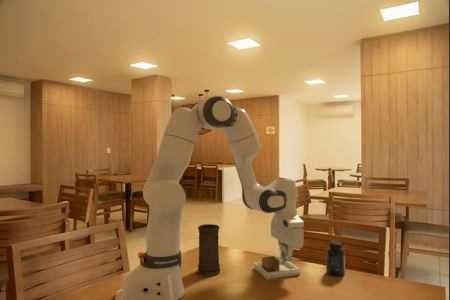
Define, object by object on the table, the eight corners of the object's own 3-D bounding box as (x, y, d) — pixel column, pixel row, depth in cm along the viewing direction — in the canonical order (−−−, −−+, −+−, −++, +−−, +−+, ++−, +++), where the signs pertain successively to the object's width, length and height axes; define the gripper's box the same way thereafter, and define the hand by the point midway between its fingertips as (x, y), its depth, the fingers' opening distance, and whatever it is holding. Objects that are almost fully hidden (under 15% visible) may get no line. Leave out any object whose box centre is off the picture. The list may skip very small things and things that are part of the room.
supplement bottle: (348, 274, 129) (348, 243, 129) (335, 278, 126) (335, 246, 126) (335, 268, 135) (335, 239, 135) (322, 272, 132) (322, 241, 132)
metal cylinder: (283, 261, 130) (283, 246, 129) (278, 258, 134) (278, 243, 134) (293, 260, 131) (293, 245, 131) (288, 256, 135) (288, 242, 135)
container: (217, 276, 127) (217, 229, 127) (194, 275, 129) (194, 228, 129) (222, 268, 136) (222, 224, 136) (201, 266, 138) (200, 223, 138)
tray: (267, 279, 124) (267, 273, 124) (253, 268, 135) (253, 262, 135) (300, 275, 129) (300, 268, 129) (284, 264, 140) (284, 258, 140)
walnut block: (267, 274, 127) (267, 261, 127) (262, 270, 132) (262, 257, 132) (279, 273, 129) (279, 260, 128) (273, 268, 133) (273, 256, 133)
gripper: (266, 214, 141) (266, 246, 141) (291, 224, 122) (291, 262, 122) (280, 213, 143) (280, 245, 143) (306, 223, 124) (306, 260, 124)
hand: (285, 253), depth 132 cm, fingers closed on metal cylinder, 4 cm apart
